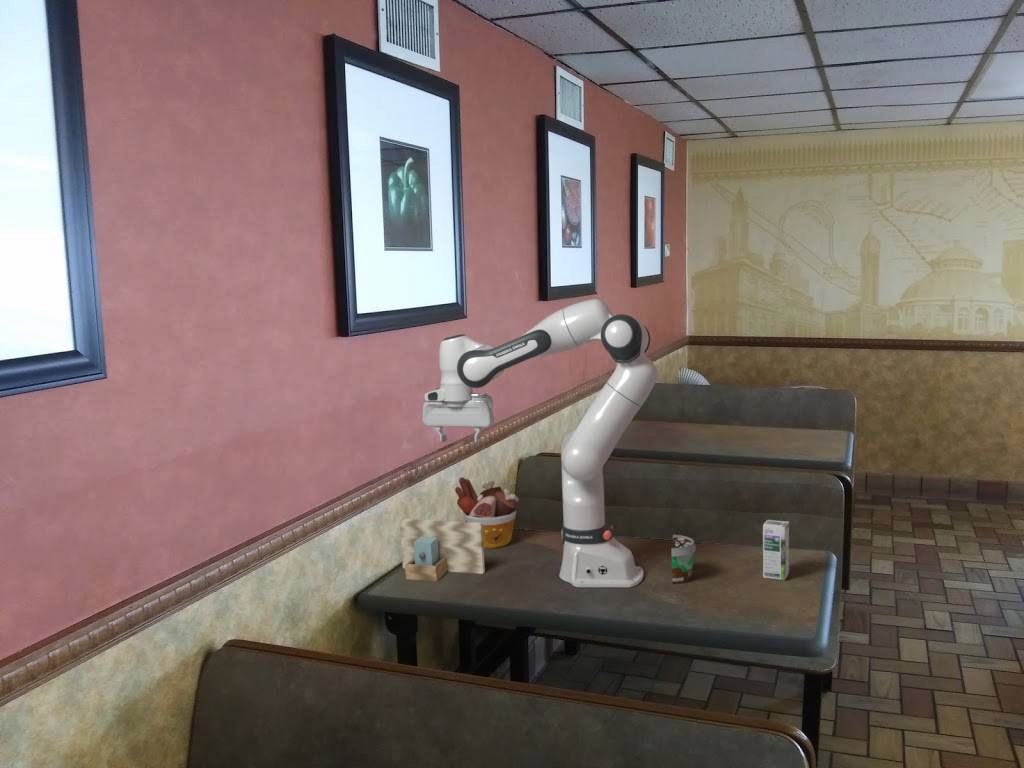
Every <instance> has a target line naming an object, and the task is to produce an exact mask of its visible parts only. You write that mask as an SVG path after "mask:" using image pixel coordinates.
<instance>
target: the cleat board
mask: <svg viewBox="0 0 1024 768" xmlns="http://www.w3.org/2000/svg"><path fill="white" fill-rule="evenodd" d="M399 529H400V541H401V544H400V545H401V560H402V569H405V571H404V572H405V580H412V581H423V582H424V581H426V582H427V581H428V582H437V581H439V580H440V579H441V578H442V577H443V576H444V575H446V574H447V573H448V572H450V573H451V572H452V573H466V574H477V575H478V574H481V575H484V574H485V572H486V571H485V570H486V567H485V565H486V564H485V551H484V550H485V549H484V545H483V525H482V523H474V522H466V521H452V520H451V521H449V520H434V519H433V520H432V519H414V518H413V519H412V518H401V519H399ZM420 537H436V538H438V551H439V562H437V563H436V564H435V565H434V566H430V565H415V554H414V542H415V541H416V540H417V539H419V538H420Z"/></svg>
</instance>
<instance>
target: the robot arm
mask: <svg viewBox="0 0 1024 768" xmlns="http://www.w3.org/2000/svg"><path fill="white" fill-rule="evenodd" d="M594 341H601V344H602V345H603V347H604V349H605V351H607V353H608V354H609V355H610V357H611V358H612V359H613V360H614V362H615V363H616V366H615V369H614V371H613V372H612V375H610V377H609V378H608V380H607V382H605V384H604V385H603V387H602V388H601V390H600V391H599V392H598V394H597V395H596V397H595V398H594V400H593V401H592V402H591V404H590V405H589V406H588V408H587V410H586V412H585V414H584V416H583V418H582V419H581V420H580V422H579V424H578V426H577V427H576V429H573V430H571V431H570V432H568V433H567V434H566V435H565V437H563V440H562V442H561V445H560V458H561V489H562V492H561V493H562V516H563V517H562V518H563V523H562V524H561V540H562V545H563V550H562V551H563V553H562V559H561V561H562V562H561V565H560V570H559V575H558V576H559V578H560V579H561V580H563V581H565V582H566V583H568V584H571V585H572V586H573V587H575V588H633V587H635V586H637V585H639V584H640V583H641V582H642V581H643V579H644V577H645V573H644V569H643V568H642V567H641V566H636V563H635V558H634V555H633V553H632V551H631V549H629V548H628V547H626V546H625V545H623V544H622V543H621V542H619V541H618V540H617V539H615V538H614V536H613V534H614V533H613V530H614V526H613V525H612V524H611V525H609V524H608V523H606V515H605V491H604V489H605V488H604V473H603V467H604V465H605V464H606V462H607V461H608V459H609V458H610V456H611V454H612V452H613V451H614V449H615V447H616V446H617V444H618V442H619V441H620V439H621V437H622V435H623V433H624V432H625V431H626V429H627V428H628V426H629V425H630V423H631V422H632V420H633V419H634V418H635V416H636V415H637V413H638V412H639V411H640V409H641V408H642V407H643V405H644V403H645V402H646V401H647V399H648V397H649V396H650V394H651V392H652V390H653V388H654V386H655V384H656V381H657V380H658V377H659V370H658V368H657V366H656V364H655V363H654V362H653V361H652V360H651V359H650V358H648V357H647V356H646V353H647V351H648V350H649V347H650V344H651V335H650V331H649V330H648V328H647V327H646V325H644V324H643V322H642V321H640V320H639V319H638V318H636V317H634V316H632V315H628V314H623V313H622V314H615V315H613V313H612V312H611V309H610V307H609V306H608V305H607V303H606V302H605V301H603V300H602V299H599V298H592V299H587V300H583V301H580V302H577V303H574V304H570V305H568V306H565V307H562V308H561V309H559V310H556V311H555V312H553V313H551V314H549V315H548V316H547V317H545V318H544V319H542V320H541V321H539V322H538V323H537V324H535V325H534V326H533V327H532V328H530V329H529V330H527V332H525V333H523V334H522V335H520V336H519V337H517V338H514V339H512V340H510V341H508V342H506V343H503V344H500V345H498V346H493V345H489V344H484V343H481V342H479V341H476V340H474V339H473V338H471V337H469V336H468V335H467V334H464V333H462V334H456V335H452V336H447V337H445V338H444V339H442V341H441V342H440V344H439V351H438V353H439V355H438V356H439V358H438V359H439V360H438V361H439V362H438V363H439V364H438V365H439V366H438V367H439V371H440V375H441V376H440V377H441V378H440V386H439V387H437V388H435V389H433V390H430V391H428V392H426V393H424V401H425V402H424V403H423V405H422V423H423V425H424V426H426V427H434V428H435V431H436V433H437V435H438V436H439V442H441V443H446V442H447V441H448V434H444V432H443V428H444V427H455V428H457V427H458V428H461V427H462V428H463V427H464V428H465V427H466V428H467V427H468V428H474V431H475V434H474V435H471V436H470V437H471V443H475V444H477V443H479V436H480V434H481V432H482V429H483V428H489V427H492V425H493V424H495V423H494V422H495V417H494V412H493V406H494V404H493V401H494V400H493V397H492V396H491V395H489V394H488V393H486V392H483V393H478V392H477V393H476V392H473V390H474V389H479V388H483V387H485V386H486V385H487V384H489V383H491V382H492V381H494V380H495V379H497V378H498V377H500V375H502V374H503V372H504V370H506V369H508V368H512V367H514V366H515V365H518V364H521V363H523V362H525V361H528V360H530V359H534V358H537V357H542V356H543V357H544V356H548V355H554V354H560V353H563V352H568V351H571V350H574V349H576V348H579V347H581V346H583V345H586V344H588V343H590V342H594Z"/></svg>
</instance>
